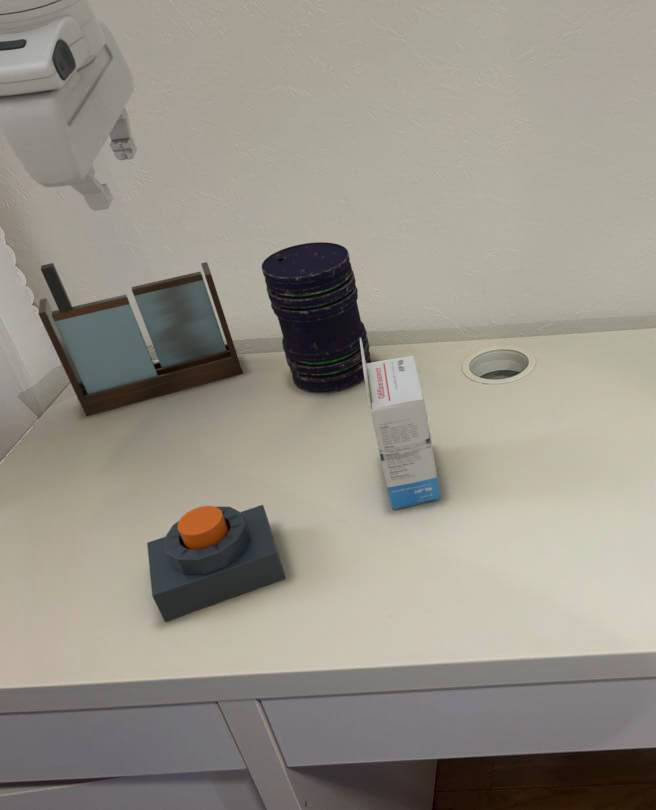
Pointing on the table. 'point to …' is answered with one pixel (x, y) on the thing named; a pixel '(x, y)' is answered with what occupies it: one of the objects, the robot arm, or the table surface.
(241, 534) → the button block
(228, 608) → the table surface
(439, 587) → the table surface
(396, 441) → the ink box
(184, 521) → the release button
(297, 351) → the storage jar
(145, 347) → the window pane
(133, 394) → the window frame
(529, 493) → the table surface
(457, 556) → the table surface
